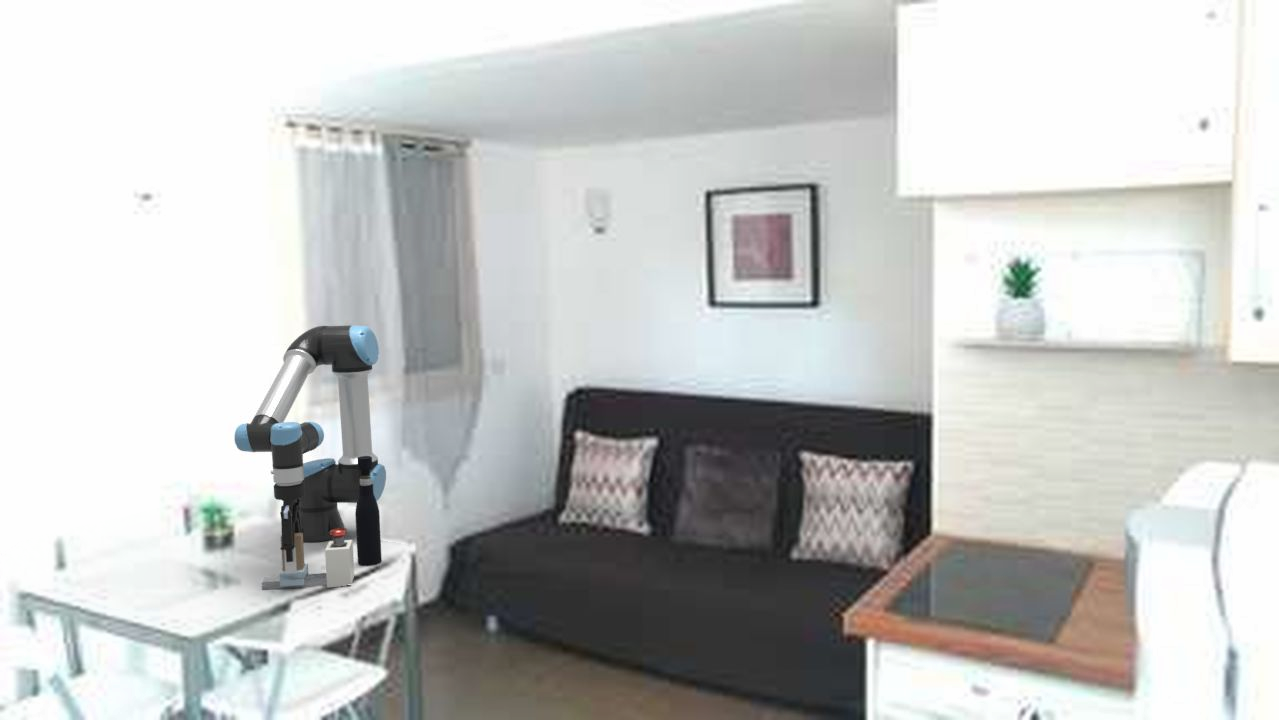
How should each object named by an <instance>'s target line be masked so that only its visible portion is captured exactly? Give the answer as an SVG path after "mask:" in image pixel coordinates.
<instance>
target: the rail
mask: <svg viewBox="0 0 1279 720" xmlns="http://www.w3.org/2000/svg"><path fill="white" fill-rule="evenodd" d="M319 586H320V587H321V586H327V578H326V572H323V573H308V574H306V576H305V585H296V586H282V587H280V577H279V575H278V576H265V577H263V579H262V581H261V590H266V589H267V590H280V589H291V588H305V587H306V588H307V587H308V588H309V587H319Z"/></svg>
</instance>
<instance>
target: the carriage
mask: <svg viewBox="0 0 1279 720" xmlns="http://www.w3.org/2000/svg"><path fill="white" fill-rule="evenodd" d="M294 546H295V548H296V565H297V573H291V574H285V557H284V550H281V563H282V564H281V565H282V568H281V569H280V571H279V573H278V576H279V577H280V587H282V586H296V585H305V576H306V574H309V563H305V548H304V542H303V533H294ZM281 547H282V535H281V536H280V548H281Z"/></svg>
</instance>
